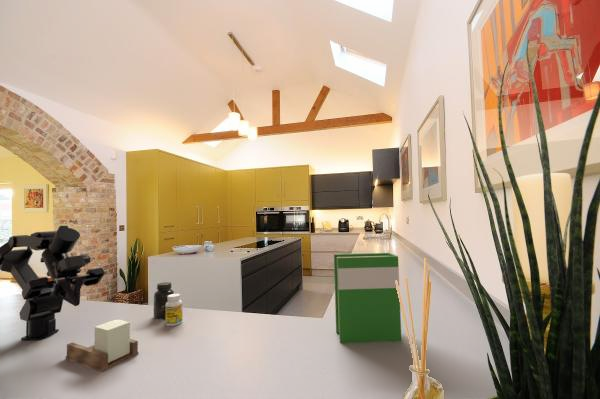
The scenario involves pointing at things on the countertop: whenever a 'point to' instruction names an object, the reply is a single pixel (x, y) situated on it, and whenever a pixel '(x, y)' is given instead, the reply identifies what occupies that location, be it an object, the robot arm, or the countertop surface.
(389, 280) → the hardback book
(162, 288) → the supplement bottle
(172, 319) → the supplement bottle
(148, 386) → the countertop surface
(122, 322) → the sage block
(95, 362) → the wooden tray holder
